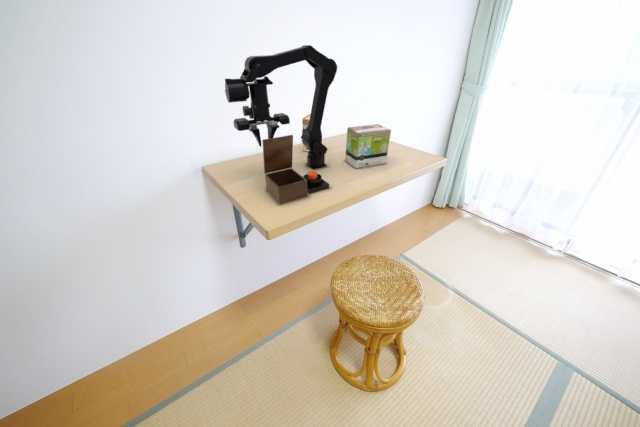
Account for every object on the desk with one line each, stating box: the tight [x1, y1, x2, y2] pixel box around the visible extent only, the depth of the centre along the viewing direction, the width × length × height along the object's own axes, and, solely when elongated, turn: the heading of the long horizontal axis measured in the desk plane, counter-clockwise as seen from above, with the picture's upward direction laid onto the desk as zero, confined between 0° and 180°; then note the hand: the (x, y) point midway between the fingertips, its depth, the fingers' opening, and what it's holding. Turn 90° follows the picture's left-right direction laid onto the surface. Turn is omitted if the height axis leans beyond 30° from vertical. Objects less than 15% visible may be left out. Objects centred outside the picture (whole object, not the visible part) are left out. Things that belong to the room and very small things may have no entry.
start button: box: [306, 170, 318, 179], centre depth 92 cm, size 4×4×2 cm
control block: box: [302, 173, 330, 195], centre depth 93 cm, size 10×8×4 cm
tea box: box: [344, 123, 392, 169], centre depth 109 cm, size 15×10×15 cm, turn 114°
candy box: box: [301, 114, 311, 152], centre depth 124 cm, size 9×4×15 cm, turn 162°
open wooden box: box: [264, 167, 309, 205], centre depth 88 cm, size 12×10×6 cm
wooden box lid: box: [262, 134, 294, 174], centre depth 86 cm, size 12×10×1 cm
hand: (265, 145), depth 95 cm, fingers open, 3 cm apart
